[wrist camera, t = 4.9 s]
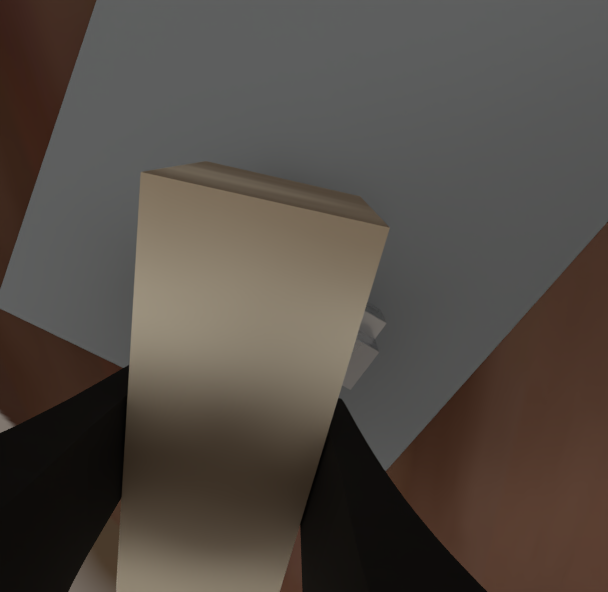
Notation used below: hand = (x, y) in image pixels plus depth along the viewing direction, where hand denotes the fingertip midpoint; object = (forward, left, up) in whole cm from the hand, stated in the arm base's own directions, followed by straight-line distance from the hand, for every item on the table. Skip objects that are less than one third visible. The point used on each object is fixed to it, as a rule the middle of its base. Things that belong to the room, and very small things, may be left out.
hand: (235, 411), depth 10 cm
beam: (0, 0, -2) cm, 2 cm away
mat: (0, -5, -9) cm, 10 cm away
